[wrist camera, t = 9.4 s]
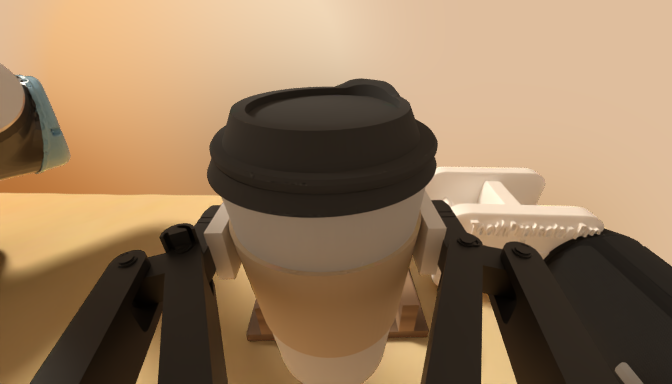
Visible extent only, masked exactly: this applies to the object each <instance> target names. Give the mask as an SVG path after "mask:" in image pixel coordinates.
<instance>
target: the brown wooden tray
mask: <svg viewBox="0 0 672 384" xmlns="http://www.w3.org/2000/svg"><path fill="white" fill-rule="evenodd" d="M428 332H429V330H428V327H427V324H426V320H425V317H424V314H423V311H422V308H421V305H420V302H419V298H418V295H417V292H416V289H415V286H414V283H413V279H412V276H411V273H410V270H408V273H407V277H406V281H405V285H404V288H403V292H402V296H401V300H400V303H399V307H398V311H397V315H396V317H395V320H394V322H393V324H392V326H391V327H390V330H389V334H388V338H399V337H427V336H428ZM246 336H247V339H248V341H257V340H275V338H274V335H273V333H272V331H271V330H270V328H269V327H268V325H267V323H266V321H265V319H264V316H263V314H262V311H261V309H260V306H259V304H258V301H257V299H256V301H255V305H254V309H253V312H252V316H251V319H250V323H249V327H248V330H247V334H246Z"/></svg>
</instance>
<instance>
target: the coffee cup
mask: <svg viewBox="0 0 672 384" xmlns="http://www.w3.org/2000/svg"><path fill="white" fill-rule="evenodd" d="M437 144H438V143H437V139H436V137H435V135H434V134H433V132H432V131H431V130H430V129H429V128H428V127H427V126H426V125H424V124H423V123H421V122H419V121H418V120H416V119H415V118H414V115H413V112H412V109H411V106H410V104H409V102H408V101H407V100H405V99H404V98H402V97H400V95H399V94H398V92H397V91H396V90H395V88H394V87H393V86H392V85H390V84H389V83H387V82H384V81H378V80H370V79H353V80H350V81H347V82H345V83H343V84H340V85H338V86H335V87H307V88H294V89H285V90H278V91H272V92H266V93H262V94H258V95H254V96H251V97H248V98H245V99H243V100H241V101H239V102H237V103H235V104H234V105H233V106H232V107H231V110H230V113H229V117H228V121H227V125H226V126H224V127H223V128H221V129H220V130H219V131H218V132H217V133H216V135H215V136H214V137H213V139H212V141H211V143H210V155H211V161H210V164H209V167H208V171H207V178H208V181H209V184H210V185H211V187H212V188H213V189H214V191H215V192H216V193H217V194H219V195H220V196H221V197H222V199H223V202H224V205H225V207H226V210H227V213H228V215H229V231H230V235H231V237H232V240H233V242H234V245H235V247H236V250H237V252H238V255H239V257H240V259H241V262H242V264H243V267H244V269H245V272H246V274H247V277H248V279H249V282H250V284H251V287H252V289H253V291H254V294H255V296H256V299H257V301H258V304H259V306H260V309H261V311H262V314H263V316H264V319H265V321H266V323H267V325H268V327H269V328H270V330H271V331H272V333H273V335H274V338H275V341H276V343H277V346H278V348H279V351H280V354H281V356H282V359H283V361H284V363H285V365H286V367H287V369H288V370H289V371H290V373H291V374H292V375H293V376H294V377H295V378H296V379H297V380H299V381H300V382H301V383H303V384H361V383H363V382H364V381H366V380H367V379H368V378H369V377H370V376H371V375H372V374H373V373H374V372H375V370H376V369H377V367H378V366H379V364H380V362H381V359H382V357H383V353H384V349H385V345H386V342H387V338H388V334H389V330H390V327H391V326H392V324H393V322H394V320H395V317H396V315H397V311H398V307H399V303H400V300H401V296H402V292H403V288H404V285H405V281H406V277H407V273H408V270H409V266H410V262H411V258H412V255H413V251H414V247H415V243H416V240H417V236H418V232H419V228H420V225H421V210H420V208H421V204H422V200H423V196H424V192H425V188H426V186H427V185H428V183H429V182H430V181H431V180H432V178H433V177H434V174H435V172H436V160H435V157H434V156H435V154H436V151H437Z"/></svg>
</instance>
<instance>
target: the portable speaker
mask: <svg viewBox="0 0 672 384" xmlns="http://www.w3.org/2000/svg"><path fill="white" fill-rule="evenodd" d="M543 260H544V262H545V263H546V265H547V267H548V268H549V270H550V271H551V273H552V275H553V276H554V278H555V280H556V281H557V283H558V284H559V286H560V288H561V289H562V291H563V293H564V294H565V296H566V298H567V299H568V301H569V302H570V304H571V306H572V307H573V309H574V311H575V312H576V314H577V315H578V317H579V319H580V320H581V322H582V324H583V325H584V327H585V329H586V330H587V332H588V333H589V335H590V337H591V338H592V340H593V342H594V343H595V345H596V346H597V348H598V350H599V351H600V353H601V355H602V356H603V358H604V360H605V361H606V363H607V364H608V366H609V368H610V369H611V371H612V373H613V374H614V376H615V377H616V379H617V381H618V382H619V384H672V266H670V265H669V264H668V263H667V262H665V261H664V260H663V259H661V258H660V257H659V256H657V255H656V254H655V253H653V252H652V251H650V250H649V249H648V248H646V247H645V246H642V245H641V244H640V243H639V242H638V241H636V240H634V239H632V238H630V237H627V236H625V235H622V234H619V233H616V232H613V231H610V230H607V229H604V230H603V231H602V232H600V235H598V234H595V233H594V235H593V236H591V235H589V234H588V235H587V237H583V236H580V237H577V239H571V240H569V241H567V242H564V243H563V244H561V245H559V246H557V247H556V248H554V249H553V250H552V251H550V252H549V254H548V255H547V256H546V257H545V258H544V259H543Z"/></svg>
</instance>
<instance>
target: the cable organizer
mask: <svg viewBox="0 0 672 384" xmlns="http://www.w3.org/2000/svg"><path fill="white" fill-rule="evenodd" d="M544 186H545V180H544V178H543V177H542V176H541V175H540V174H538V173H537V172H536V171H534V170H532V169H529V168H497V167H496V168H494V167H438V168H436V172H435V174H434V177H433V178H432V180H431V181H430V182H429V183H428V185H427V186H426V188H425V191H426V192H427V194H428V196H429V198H430V199H431V200H443V201H444V202H445V203H447V204H448V205H449V206H450V207H451V209H452V210H453V212H454V213H455V215H456V217H457V218H458V220H459V221H460V223H461V224H462V226H463V227H464V229H465V230H466V232H467V233H469V234H472V235H474V236H476V237H478V238H479V239H480V240H481V241H482V244H483V245H485V246H489V247H494V248H500V249H503V247H504V245H505V244H506V243H508V242H512V241H517V242H521V243H525V244H527V245H529V246H531V247H533V248H534V249H536V250H537V251H538V253H539V254H540V255H541V257H542V258H543V259H544V258H545V257H546V256H547V255H548V254H549V252H550V251H552V250H553V249H554V248H556V247H557V246H559V245H561V244H563V243H564V242H567V241H569V240H571V239H577V237H580V236H583V237H587V235H588V234H589V235H591V236H593V235H594V233H595V234H598V235H600V232H602V231H603V230H604V224H603V222H602V221H601V220H600V219H599V218H597V217H596V216H595V215H594V214H593V213H591V212H590V211H589V210H587V209H585V208H582V207H577V206H550V205H537V203H538V200H539V198H540V196H541V193H542V191H543V189H544ZM431 276H432V280H433V282H434V283H435V284H436V285H437V286H438V284H439V280H440V276H441V271H440V269H439V267H438V268H437V272H436V275H431Z"/></svg>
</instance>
